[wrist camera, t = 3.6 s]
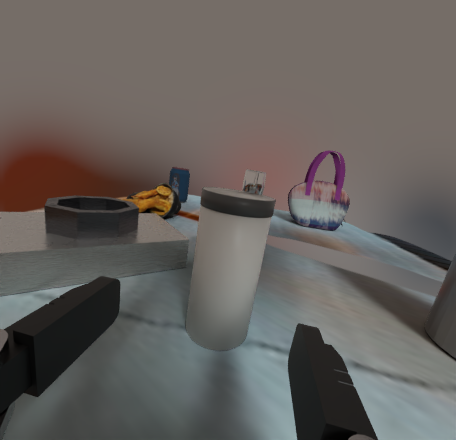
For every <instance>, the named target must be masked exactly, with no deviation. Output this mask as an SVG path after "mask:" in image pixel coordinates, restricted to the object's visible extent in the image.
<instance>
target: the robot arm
mask: <svg viewBox="0 0 456 440" xmlns="http://www.w3.org/2000/svg"><path fill="white" fill-rule="evenodd" d="M119 304H120V281H119V280H118V279H114V278H110V277H106V276H100V277H98V278H96V279H95V280H93V281H92V282H90V283H88V284H85V285H82V286H79V287H76V288H74V289H71V290H70V291H68V292H66V293H64V294H63V295H61V296H60V297H59V298H56V299H54V300H53V301H51V302H50V303H49V304H46V305H44V306H43V307H41V308H39V309H38V310H36V311H34V312H32V313H31V314H29V315H27V316H26V317H24V318H22V319H21V320H19V321H17V322H16V323H14V324H12V325H11V326H9V327H7V328H6V329H4V330H3V329H0V440H2V439H3V437H4V434H5V432H6V429H7V426H8V424H9V421H10V419H11V416H12V413H13V411H14V407H15V400H16V399H17V398H18V397H19V396H21V395H22V394H23V393H26V394H29V395H32V396H35V397H39V396H40V395H41V394H42V393H43V392H44V391H45V390H46V389H47V388H48V387H49V386H50V385H51V384H52V383H53V382H54V381H55V380H56V379H57V378H58V377H59V376H60V375H61V374H62V373H63V372H64V371H65V370H66V369H67V368H68V367H69V366H70V365H71V364H72V363H73V362H74V361H75V360H76V359H77V358H78V357H79V356H80V355H81V354H82V353H83V352H84V351H85V350H86V349H87V348H88V347H89V346H90V345H91V344H92V343H93V342H94V341H95V340H96V339H97V338H98V337H99V336H100V335H101V334H103V333H104V332H105V331H106V330H107V329H108V328H109V327H110V326H111V325H112V324H113V322H114V321H115V319H116V318H117V315H118V313H119ZM425 330H426V332H427V334H428V335H429V336H430V337H431V338H432V340H433V341H435V342H436V343H437V344H438V345H439V346H440V347H441V348H442V349H444V350H445V351H446V352H448V353H449V354H450V355H452V356H453V357H454V358H456V254H455V256H454V258H453V260H452V263H451V265H450V267H449V270H448V272H447V274H446V277H445V279H444V281H443V284H442V286H441V289H440V291H439V293H438V295H437V297H436V299H435V302H434V304H433V306H432V309H431V311H430V313H429V316H428V318H427V320H426V323H425ZM288 373H289V381H290V388H291V396H292V403H293V411H294V418H295V426H296V433H297V440H378V439H377V436H376V434H375V432H374V429H373V427H372V425H371V423H370V420H369V418H368V416H367V414H366V411H365V409H364V407H363V404H362V402H361V400H360V398H359V395H358V393H357V391H356V389H355V387H354V386H353V382H352V379H351V377H350V375H348V370H347V368H346V366H345V364H344V361H343V359H342V357H341V356H340V355H339V354H338V353H337V351H336V350H335V349H334V348H333V347H332V345H328V344H324V341H323V339H322V336H321V333H320V331H319V329H318V328H316V327H312V326H308V325H304V324H300V323H299V324H298V325H297V327H296V331H295V334H294V338H293V342H292V345H291V349H290V353H289V359H288Z"/></svg>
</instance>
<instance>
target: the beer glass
mask: <svg viewBox="0 0 456 440" xmlns="http://www.w3.org/2000/svg"><path fill="white" fill-rule="evenodd" d="M265 180H266V173H265V172H260V171H253V170H246V173H245V177H244V181H243V190H242V191H245V192H250V193H255V194H260V195H262V194H263V190H264V186H265Z"/></svg>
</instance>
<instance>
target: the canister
mask: <svg viewBox="0 0 456 440" xmlns="http://www.w3.org/2000/svg"><path fill="white" fill-rule="evenodd" d="M275 202H276V200H275V199H274V198H271V197H268V196H264V195H260V194H255V193H250V192H245V191H239V190H233V189H225V188H215V187H203V188H202V195H201V203H200V204H201V208H200V216H199V223H198V231H197V239H196V246H195V254H194V262H193V270H192V277H191V285H190V293H189V300H188V308H187V316H186V325H185V326H186V331H187V333H188V335H189V336H190V338H191V339H192V340H193V341H194V342H195V343H197V344H198V345H200V346H202V347H204V348H207V349H210V350H215V351H225V350H230V349H233V348H236V347H238V346H239V345H240V344H242V343H243V342H244V340H245V339H246V336H247V332H248V327H249V322H250V318H251V313H252V308H253V303H254V299H255V294H256V289H257V284H258V279H259V275H260V270H261V265H262V260H263V256H264V251H265V246H266V241H267V236H268V232H269V227H270V222H271V217H272V216H273V211H274V206H275Z"/></svg>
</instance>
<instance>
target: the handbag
mask: <svg viewBox="0 0 456 440" xmlns="http://www.w3.org/2000/svg"><path fill="white" fill-rule="evenodd" d="M334 152H335V151H325V152H321V153H320V154H318V156H316V157H315V159H314V160H313V162H312V163H311V165H310V167H309V169H308V172H307V175H306V178H305V182H304V183H301V184H298V185H296V186H294V187H293V188H292V189H291V190H290V192H289V195H288V204H289V210H290V214H291V216H292V218H293V219H294V220H295V221H296V222H297V223H298V224H300V225H302V226H306V227H312V228H318V229H324V230H336V229H337V228H338V227H339V226H340V224H341V225H342V221H343V219H344V217H345V215H346V213H347V210H348V208H349V204H350V203H349V202H350V201H349V197H348V194H347V193H346V192H345V191H344V190H343V189H342V186H343V182H344V177H345V163H344V159H343V156H342V155H341V154H340V153H338V152H337V153H338V154H339V155H340V161H341V164H340V161H339V157H338V155H337V154H335V153H334ZM329 153H330V154H331V155H333V159H334V163H335V168H336V174H335V180H334V184H332V183H329V182H324V181H313V179H314V176H315V173H316V170H317V168H318V166H319V164H320V163H321V162H322V160H323V159H324V158H325V157H326V155H327V154H329ZM342 227H343V226H342Z"/></svg>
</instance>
